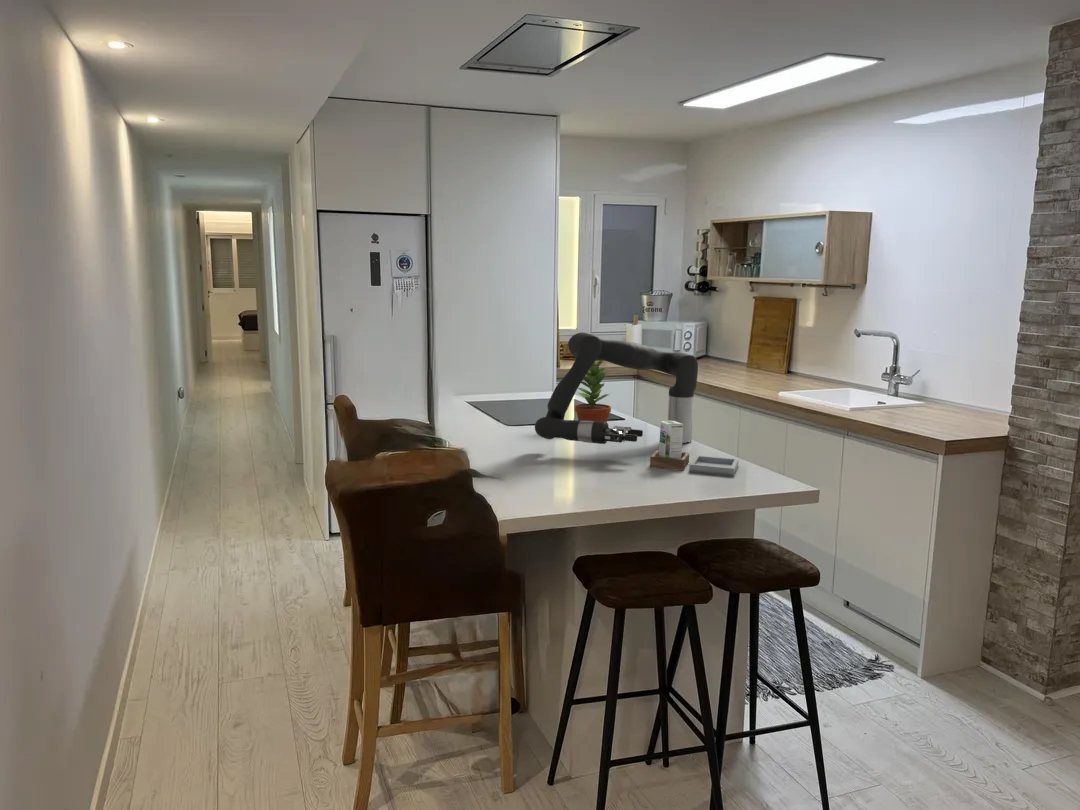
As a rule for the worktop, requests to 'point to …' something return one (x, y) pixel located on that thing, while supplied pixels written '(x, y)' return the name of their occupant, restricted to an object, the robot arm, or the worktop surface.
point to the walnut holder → (669, 461)
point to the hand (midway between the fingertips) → (639, 435)
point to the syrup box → (670, 439)
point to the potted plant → (593, 397)
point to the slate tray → (714, 465)
